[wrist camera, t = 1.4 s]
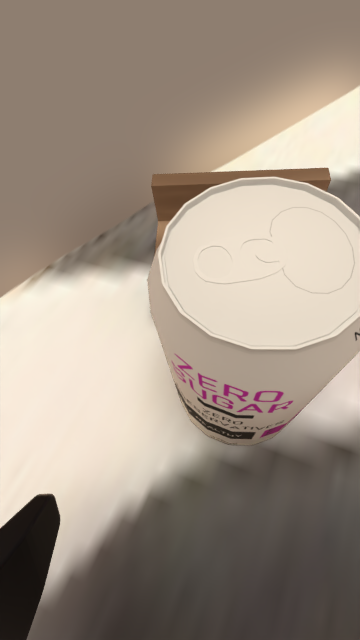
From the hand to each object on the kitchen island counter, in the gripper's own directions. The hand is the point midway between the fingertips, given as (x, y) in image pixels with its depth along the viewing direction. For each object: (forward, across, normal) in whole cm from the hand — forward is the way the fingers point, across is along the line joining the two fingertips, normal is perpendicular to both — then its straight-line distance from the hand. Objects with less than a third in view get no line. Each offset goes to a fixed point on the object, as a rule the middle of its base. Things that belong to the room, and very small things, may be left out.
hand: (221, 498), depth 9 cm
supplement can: (+15, -2, +6) cm, 16 cm away
